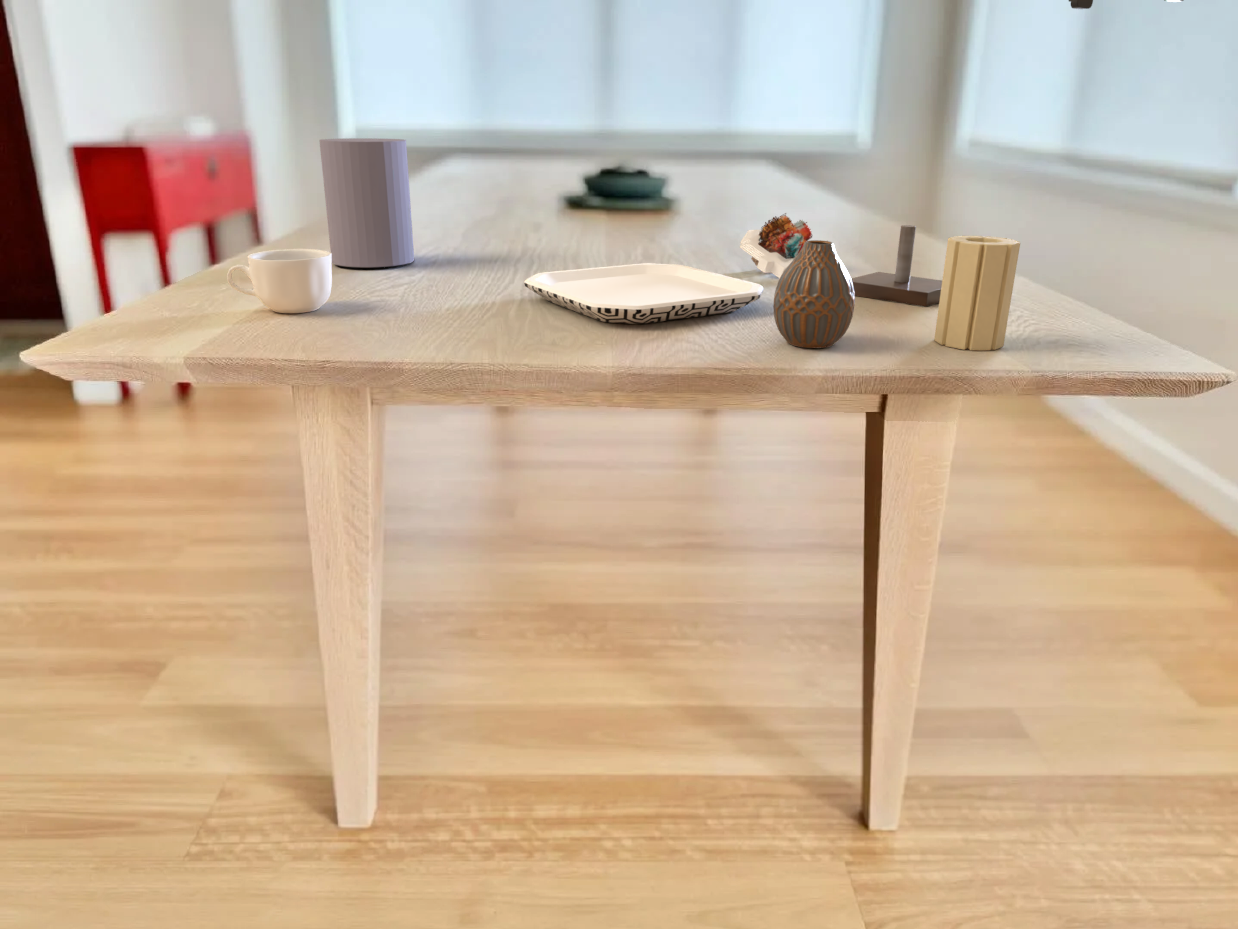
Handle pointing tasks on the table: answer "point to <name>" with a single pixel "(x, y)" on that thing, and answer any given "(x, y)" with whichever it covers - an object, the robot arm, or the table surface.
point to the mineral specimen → (776, 244)
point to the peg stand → (900, 279)
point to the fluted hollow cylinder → (976, 292)
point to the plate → (644, 292)
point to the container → (367, 202)
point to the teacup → (288, 279)
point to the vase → (814, 297)
